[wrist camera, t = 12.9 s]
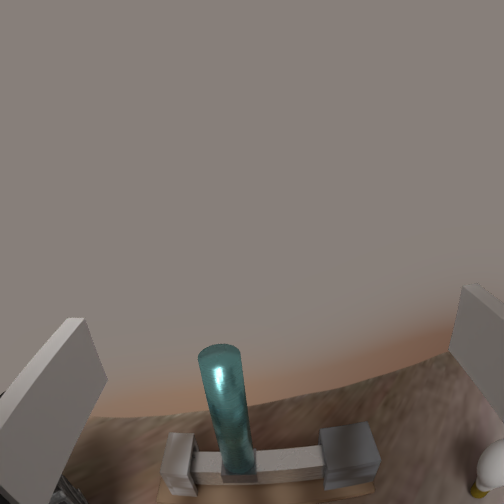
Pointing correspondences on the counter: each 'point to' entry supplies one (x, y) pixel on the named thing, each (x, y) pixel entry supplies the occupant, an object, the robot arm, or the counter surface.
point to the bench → (278, 494)
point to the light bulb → (489, 470)
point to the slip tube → (243, 433)
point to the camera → (66, 493)
